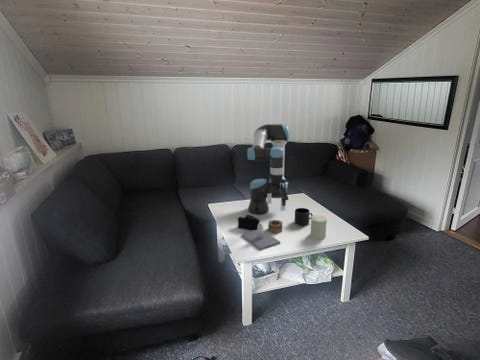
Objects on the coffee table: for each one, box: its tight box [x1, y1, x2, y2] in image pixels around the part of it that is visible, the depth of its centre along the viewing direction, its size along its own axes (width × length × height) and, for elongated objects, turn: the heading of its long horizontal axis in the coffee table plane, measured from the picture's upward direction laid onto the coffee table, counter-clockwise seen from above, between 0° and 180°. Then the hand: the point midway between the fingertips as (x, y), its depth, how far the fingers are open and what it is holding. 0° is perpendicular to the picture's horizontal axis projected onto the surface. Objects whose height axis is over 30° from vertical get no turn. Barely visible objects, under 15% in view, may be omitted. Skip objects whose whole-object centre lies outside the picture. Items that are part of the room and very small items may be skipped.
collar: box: [267, 219, 283, 234], centre depth 186 cm, size 8×8×5 cm
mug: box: [294, 207, 314, 227], centre depth 194 cm, size 9×12×9 cm
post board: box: [241, 221, 281, 251], centre depth 174 cm, size 20×14×11 cm
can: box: [309, 214, 328, 240], centre depth 177 cm, size 9×9×12 cm
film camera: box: [237, 214, 261, 231], centre depth 191 cm, size 15×10×9 cm, turn 71°
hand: (275, 206), depth 182 cm, fingers open, 13 cm apart
